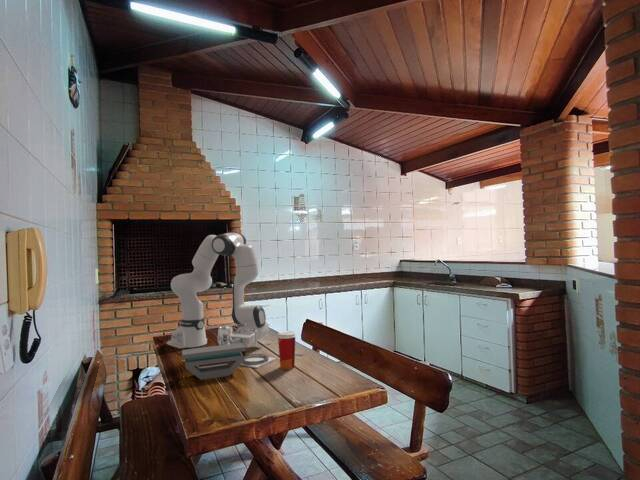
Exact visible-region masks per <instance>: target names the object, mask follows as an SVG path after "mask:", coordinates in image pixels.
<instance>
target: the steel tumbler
mask: <svg viewBox="0 0 640 480" xmlns="http://www.w3.org/2000/svg"><path fill="white" fill-rule="evenodd" d="M233 331H234V328H233V326H231V325H224V326H219V327H218V330H217V335H218V341H219V342H218V346H220V345H228V344H230V340H233Z"/></svg>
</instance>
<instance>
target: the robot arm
mask: <svg viewBox="0 0 640 480" xmlns="http://www.w3.org/2000/svg"><path fill="white" fill-rule="evenodd" d="M256 255H257V254H256V251H255V249H254V247H253V246H252V244H247V239H246V237H245V236H244V234H242V233H241V232H226V233H221V234H218V235H216V234H209V235H207V236H206V237H205V238H204V239H203V241H202V242H201V244H200V245H199V247H198V249H197V251H196V252H195V254H194V256H193V258H192V260H191V264H192V266H193V270H192V272H188V273H182V274H178V275H176V276H174V277H173V278H172V279H171V281H170V288H171V290H172V293H174V294H175V295H176V296H177V297H178V299H179V301H180V304H181V317H182V319H179V320H178V322H179V326H178V327H177V328H176V329H174V331H173V332H172V334H171V340H169V341H167V342H166V345H168V346H170V347H171V346H172V348H173V347H174V348H177V349H186V348H188V349H190V348H199V347H202V346H205V345H207V344H208V338H207V334H206V326H205V317H204V303H203V302H202V301H201V300H200V299H199V298H198V296H197V293H200V292H205V291H207V290H208V289H210V288H211V287H212V284H213V279H212V276H211V273H212V270H213V267H214V266H215V263H216V262H217V260H218V257H219V256H224V257H233V259H234V262H235V270H236V271H235V277H234V278H233V281H232V311H231V319H232V321H233V322H234V324H235V325H237V326H238V325H239V326H240V327H238V328H237V329H236V331H234V330H233V340H230V344H237V343H243V344H244V346H250V345H256V344H258V342H259V340H260V339H263V338H265V337H266V336H267V335H268V334H269V331H270V326H269V324H268V322H267V321H266V311H265V310H264V308H263V306H261V305H259V304H257V305H256V304H255V305H253V304H252V305H245V300H244V299H245V297H244V296H245V294H244V292H245V288H246V286H247V285H249V284H250V283H252V282H254V281H255V280H256V278H257V276H258V275H259V266H258V260H257V256H256ZM241 325H243V326H241ZM216 341H217V343H219V341H218V334H217V340H216Z"/></svg>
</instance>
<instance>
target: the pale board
mask: <svg viewBox="0 0 640 480" xmlns="http://www.w3.org/2000/svg"><path fill="white" fill-rule="evenodd" d="M264 359H265V358H262V357H253V358H248V359H245V361H260V360H264ZM277 359H278V358H277V357H271V356H269V360H268V361H267V362H265V363H263V364H257V365H247V364H243V363H241V364H240V365H239V366H242V367H246V368H252V369H260V368H261V367H264V366H266V365H268V364H270V363H272V362H274V361H276V360H277Z"/></svg>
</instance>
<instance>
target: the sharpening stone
mask: <svg viewBox="0 0 640 480" xmlns="http://www.w3.org/2000/svg"><path fill="white" fill-rule="evenodd" d="M246 349H247V346H246V345H244V344H243V343H237V344H228V345H220V346H219V345H213V346H204V347H193V348H188V349H186V348H185V349H181V357H182V359H183V360H184V364H185V365H184V366H185V370H187V371H188V372H190V373H191V374H192V375H194V377H196V378H197V379H199V380H200V381H203V379H204V380H210V379H216V378H222V377H230V376H231V375H232V374H233V373H234V372H235V370H237V368H238V367H240V366H241V365H240V364H241V363H242V362H243V357H244V355H243V353H242V352H246V351H247V350H246ZM219 363H220V364H219ZM204 365H206V366H204Z"/></svg>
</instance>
